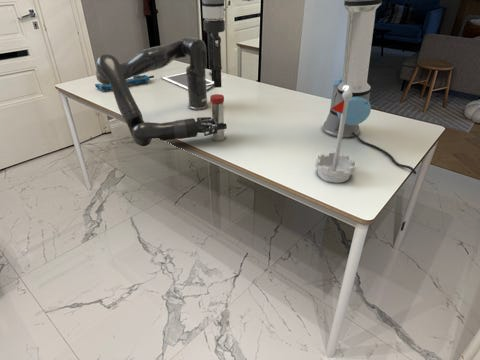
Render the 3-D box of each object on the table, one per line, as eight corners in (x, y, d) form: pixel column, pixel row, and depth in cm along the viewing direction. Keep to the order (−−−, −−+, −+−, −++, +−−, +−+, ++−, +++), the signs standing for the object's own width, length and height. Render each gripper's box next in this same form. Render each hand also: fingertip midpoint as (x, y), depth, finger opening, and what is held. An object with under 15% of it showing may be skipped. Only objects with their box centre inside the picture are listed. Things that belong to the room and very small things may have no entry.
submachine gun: (140, 68, 224) (158, 75, 207) (141, 74, 226) (159, 81, 209) (87, 79, 205) (103, 86, 189) (89, 85, 207) (104, 93, 190)
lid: (208, 103, 134) (208, 98, 133) (213, 98, 138) (213, 93, 137) (221, 104, 132) (221, 99, 131) (226, 99, 137) (225, 94, 136)
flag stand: (338, 161, 126) (352, 82, 110) (360, 179, 116) (380, 94, 100) (307, 168, 122) (318, 86, 106) (328, 187, 112) (342, 100, 96)
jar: (211, 139, 143) (209, 98, 133) (215, 134, 147) (213, 94, 137) (222, 141, 141) (220, 100, 132) (226, 136, 145) (224, 96, 136)
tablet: (161, 78, 216) (161, 77, 216) (188, 72, 227) (188, 71, 227) (189, 90, 196) (189, 89, 195) (217, 83, 207) (217, 82, 206)
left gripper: (186, 127, 129) (229, 121, 134) (179, 113, 140) (219, 108, 145) (188, 144, 133) (229, 138, 138) (181, 130, 144) (220, 125, 149)
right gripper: (228, 23, 111) (230, 91, 123) (220, 15, 128) (222, 75, 140) (205, 24, 110) (209, 92, 122) (200, 15, 127) (204, 76, 139)
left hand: (224, 123), depth 141 cm, fingers closed on jar, 5 cm apart
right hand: (216, 83), depth 131 cm, fingers open, 7 cm apart
